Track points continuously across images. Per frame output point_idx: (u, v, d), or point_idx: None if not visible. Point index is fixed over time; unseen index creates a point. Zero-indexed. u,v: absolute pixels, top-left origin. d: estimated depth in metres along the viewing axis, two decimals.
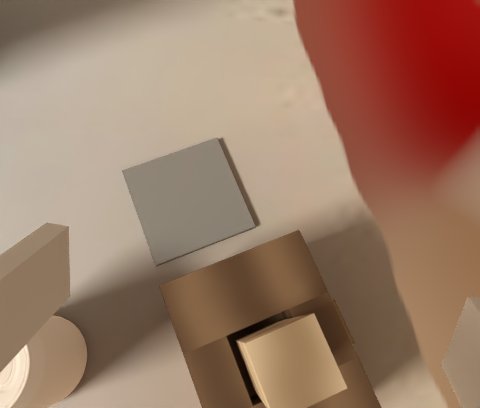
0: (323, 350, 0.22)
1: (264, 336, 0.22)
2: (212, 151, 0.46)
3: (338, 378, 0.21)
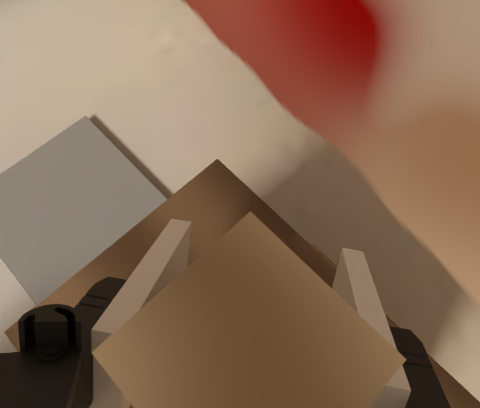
0: (306, 288, 0.08)
1: (140, 313, 0.08)
2: (84, 134, 0.32)
3: (373, 345, 0.08)
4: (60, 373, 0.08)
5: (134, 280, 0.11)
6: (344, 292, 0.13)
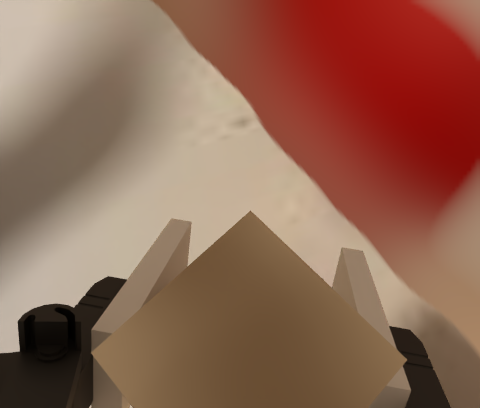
0: (306, 288, 0.08)
1: (140, 313, 0.08)
2: None
3: (373, 345, 0.07)
4: (60, 373, 0.08)
5: (134, 280, 0.11)
6: (344, 292, 0.13)
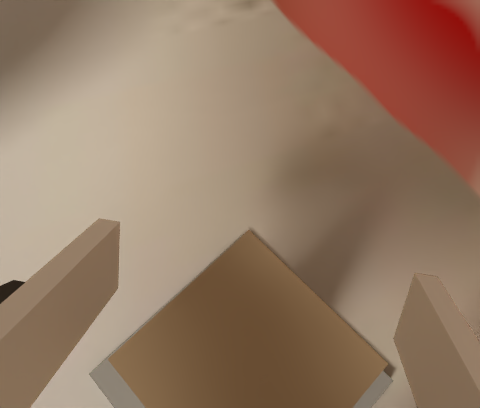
0: (299, 300, 0.09)
1: (150, 323, 0.09)
2: None
3: (358, 350, 0.08)
4: None
5: (31, 285, 0.10)
6: (427, 325, 0.12)
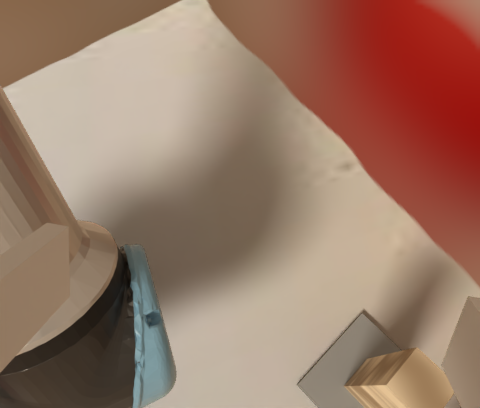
0: (434, 368, 0.32)
1: (395, 375, 0.32)
2: (365, 328, 0.47)
3: None
4: None
5: None
6: None
